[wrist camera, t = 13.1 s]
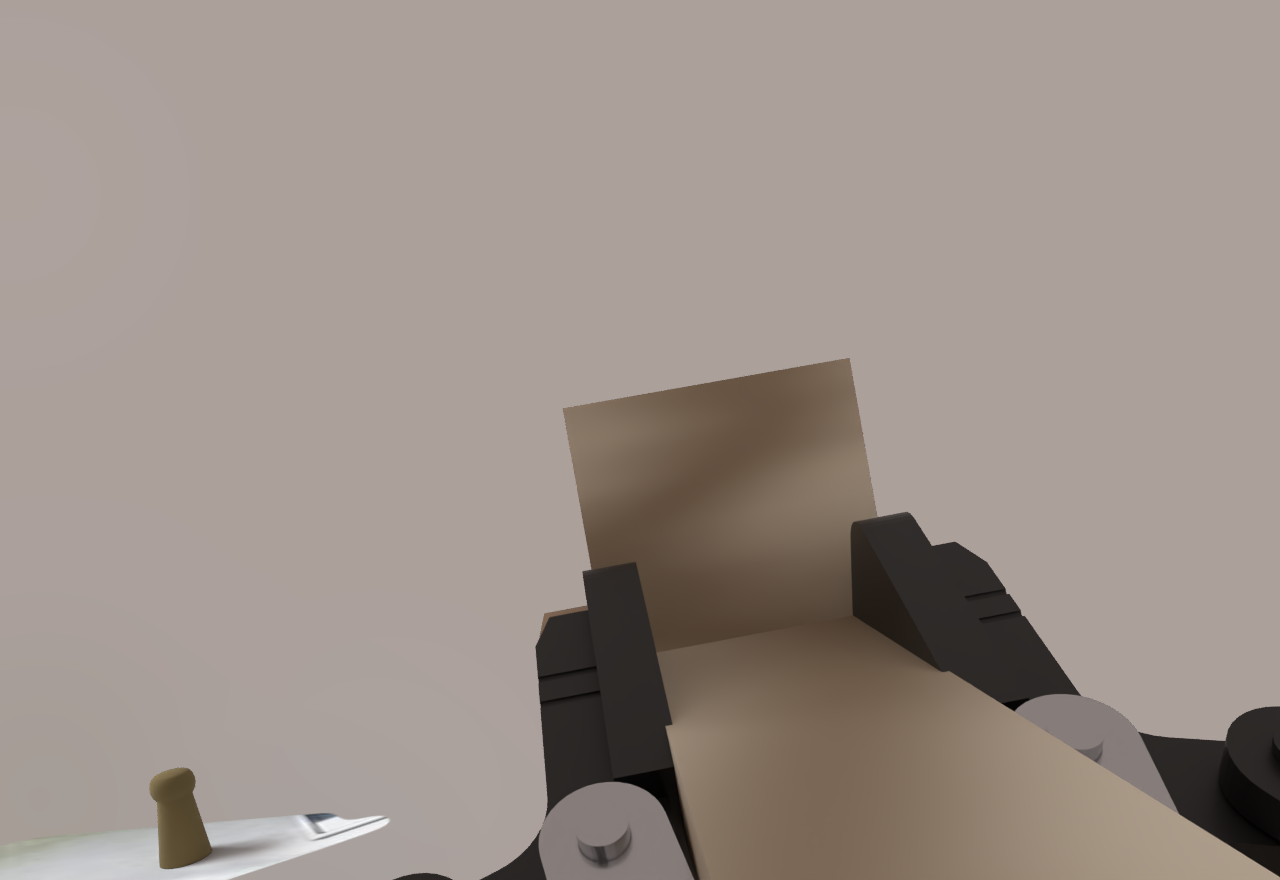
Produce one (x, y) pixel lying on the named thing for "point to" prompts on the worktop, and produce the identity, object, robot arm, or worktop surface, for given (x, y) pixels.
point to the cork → (178, 819)
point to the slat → (830, 665)
